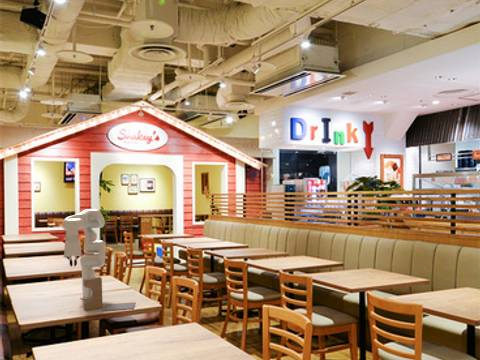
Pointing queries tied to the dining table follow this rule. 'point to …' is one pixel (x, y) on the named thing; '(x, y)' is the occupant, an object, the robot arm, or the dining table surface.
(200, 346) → the dining table surface
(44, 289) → the dining table surface
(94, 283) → the decorative block
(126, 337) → the dining table surface
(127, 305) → the mat
